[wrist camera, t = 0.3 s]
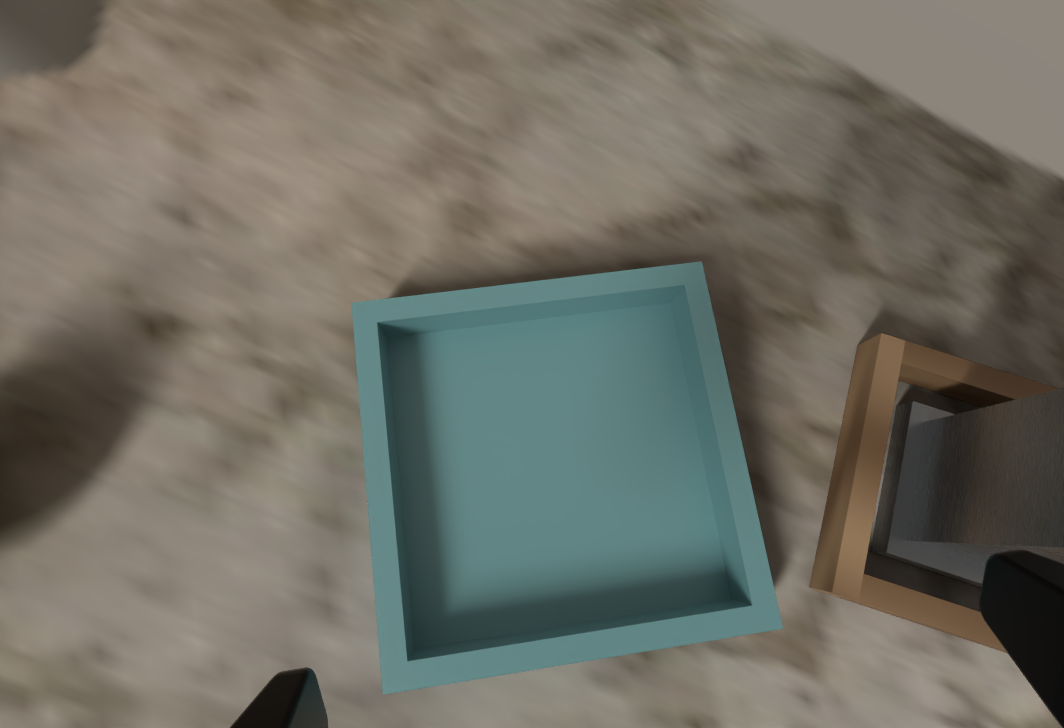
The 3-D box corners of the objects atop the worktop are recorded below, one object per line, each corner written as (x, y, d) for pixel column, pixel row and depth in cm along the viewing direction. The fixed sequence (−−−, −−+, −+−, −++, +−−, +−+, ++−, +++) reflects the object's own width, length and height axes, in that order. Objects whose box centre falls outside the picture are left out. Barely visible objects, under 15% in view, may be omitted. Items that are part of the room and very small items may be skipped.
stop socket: (1070, 673, 22) (1112, 684, 21) (809, 587, 23) (832, 592, 21) (1094, 419, 24) (1134, 412, 23) (857, 344, 25) (881, 333, 23)
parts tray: (753, 617, 22) (783, 628, 20) (395, 675, 21) (382, 694, 19) (683, 285, 25) (701, 261, 23) (366, 324, 24) (351, 302, 22)
